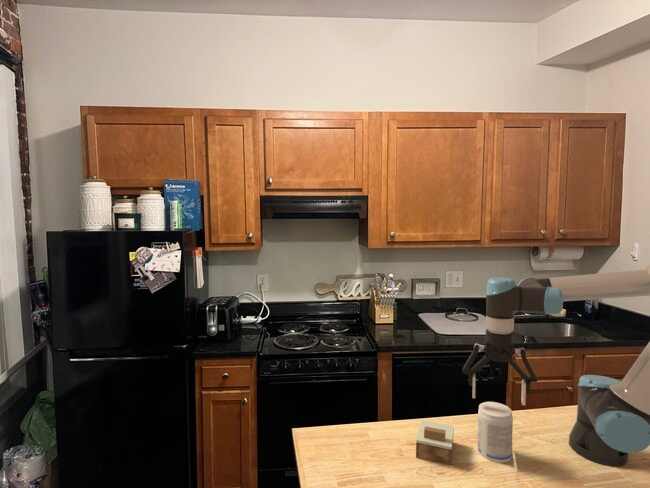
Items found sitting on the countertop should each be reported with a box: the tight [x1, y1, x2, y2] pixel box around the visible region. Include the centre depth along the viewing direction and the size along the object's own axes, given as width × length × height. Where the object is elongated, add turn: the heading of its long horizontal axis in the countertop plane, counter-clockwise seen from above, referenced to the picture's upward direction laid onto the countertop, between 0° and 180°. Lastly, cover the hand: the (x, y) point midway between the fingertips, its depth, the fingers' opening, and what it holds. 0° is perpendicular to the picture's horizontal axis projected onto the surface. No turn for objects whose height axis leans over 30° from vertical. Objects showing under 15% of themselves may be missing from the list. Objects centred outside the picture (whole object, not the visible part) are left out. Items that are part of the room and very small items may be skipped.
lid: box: [415, 419, 454, 451], centre depth 120 cm, size 10×12×3 cm
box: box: [415, 430, 454, 466], centre depth 120 cm, size 10×12×5 cm
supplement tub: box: [477, 401, 514, 464], centre depth 119 cm, size 10×10×15 cm
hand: (498, 399), depth 118 cm, fingers open, 13 cm apart
